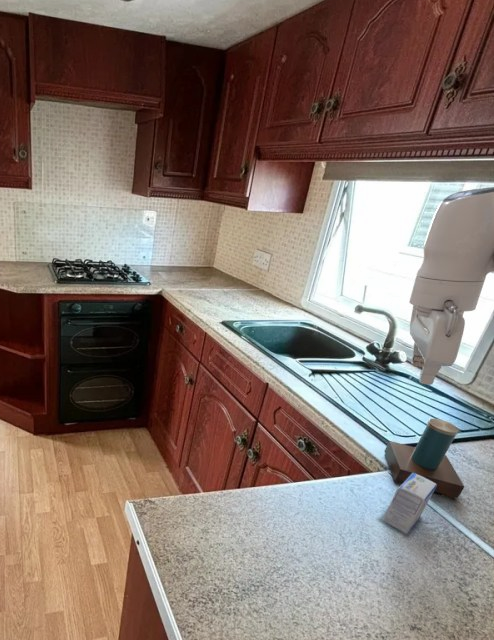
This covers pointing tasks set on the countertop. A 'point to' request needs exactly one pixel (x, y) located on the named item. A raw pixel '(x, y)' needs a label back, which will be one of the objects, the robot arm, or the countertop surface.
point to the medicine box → (409, 502)
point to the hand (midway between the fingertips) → (420, 373)
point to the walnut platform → (422, 470)
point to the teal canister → (434, 443)
